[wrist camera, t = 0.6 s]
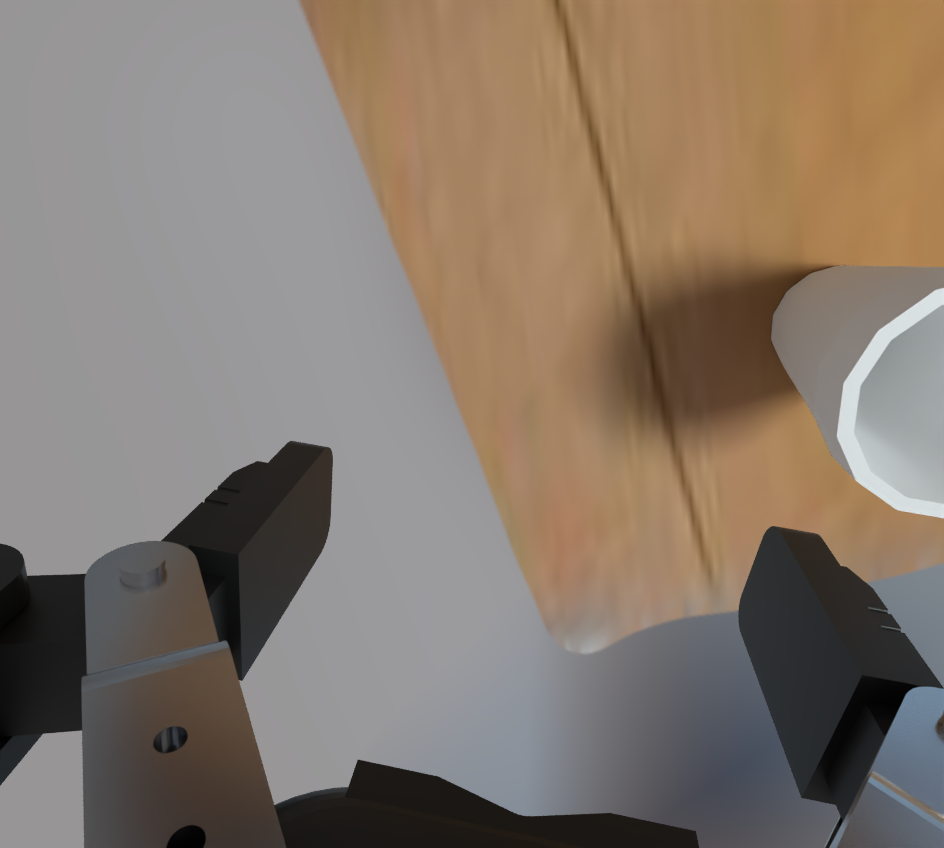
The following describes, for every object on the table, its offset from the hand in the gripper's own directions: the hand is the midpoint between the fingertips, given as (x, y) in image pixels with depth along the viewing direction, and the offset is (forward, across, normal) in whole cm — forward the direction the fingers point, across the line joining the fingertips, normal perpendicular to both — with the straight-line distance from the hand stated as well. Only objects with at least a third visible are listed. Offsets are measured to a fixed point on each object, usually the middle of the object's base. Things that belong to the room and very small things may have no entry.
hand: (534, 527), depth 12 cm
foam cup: (+27, -15, 0) cm, 31 cm away
